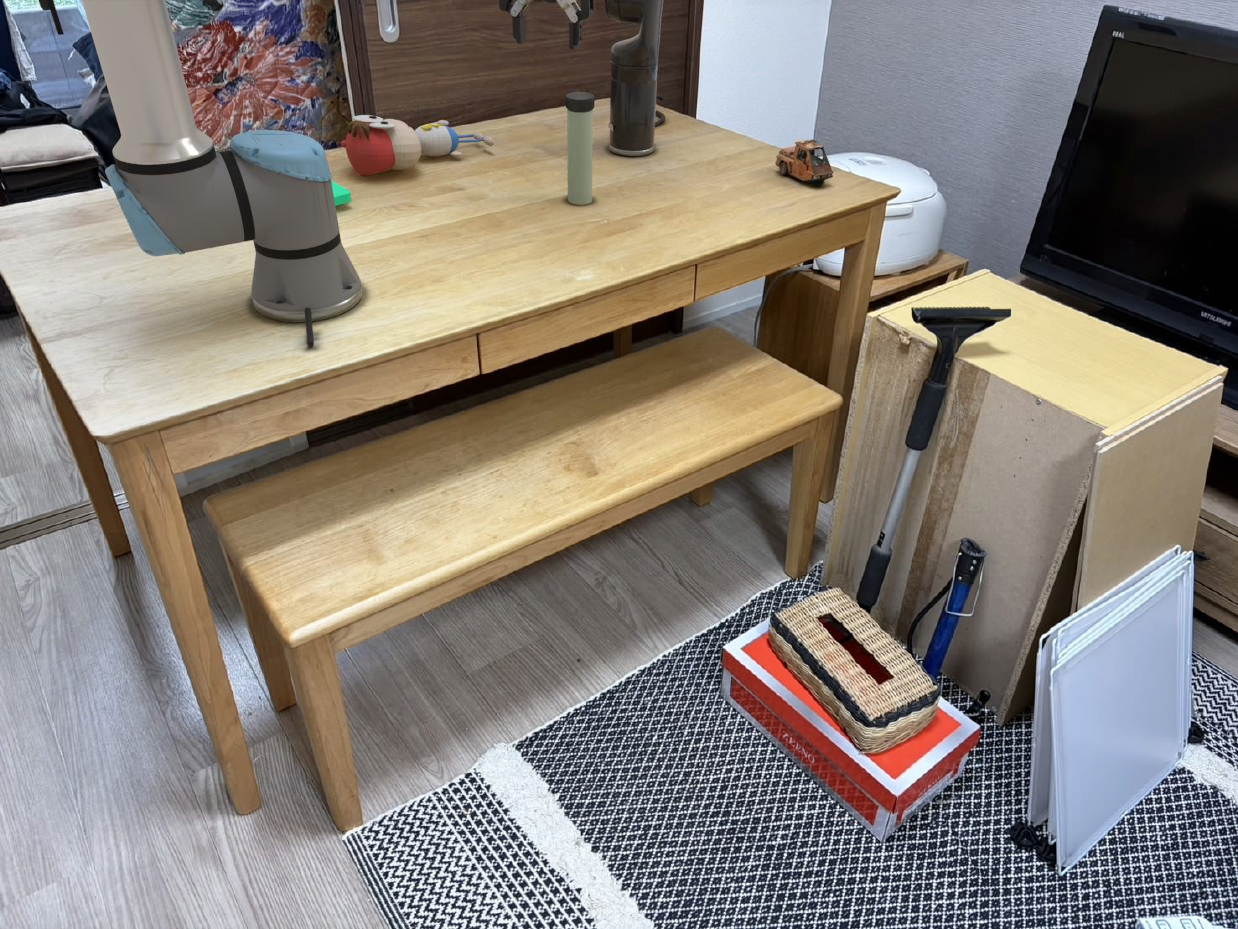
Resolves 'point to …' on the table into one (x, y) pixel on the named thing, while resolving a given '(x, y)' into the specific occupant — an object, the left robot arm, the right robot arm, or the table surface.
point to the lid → (580, 101)
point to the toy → (399, 143)
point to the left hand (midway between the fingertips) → (108, 29)
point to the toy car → (804, 162)
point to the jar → (580, 156)
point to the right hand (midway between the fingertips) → (547, 45)
